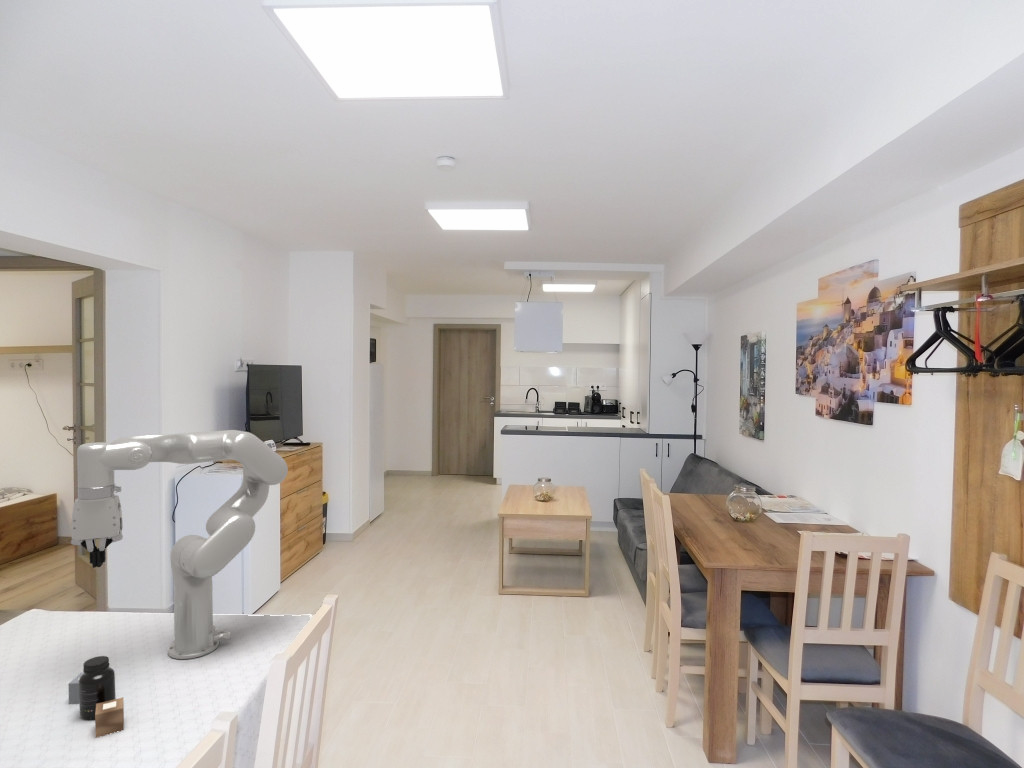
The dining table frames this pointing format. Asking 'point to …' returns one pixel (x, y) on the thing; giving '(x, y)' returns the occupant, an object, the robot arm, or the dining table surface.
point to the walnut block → (109, 717)
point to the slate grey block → (74, 690)
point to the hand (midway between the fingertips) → (97, 565)
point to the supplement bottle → (95, 685)
